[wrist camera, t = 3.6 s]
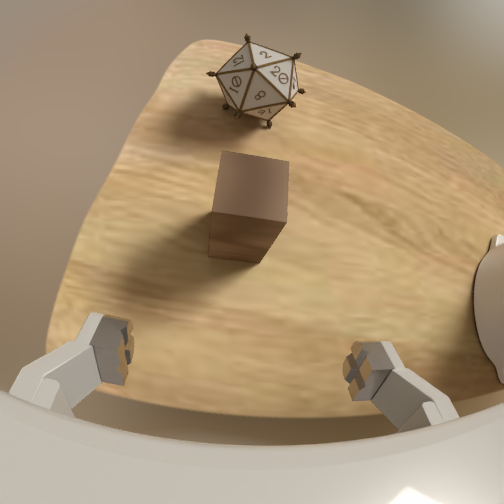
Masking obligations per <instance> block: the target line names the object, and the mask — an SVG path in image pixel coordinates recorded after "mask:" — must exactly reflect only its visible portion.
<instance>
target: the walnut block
mask: <svg viewBox="0 0 504 504" xmlns="http://www.w3.org/2000/svg"><path fill="white" fill-rule="evenodd" d="M288 180H289V162H288V161H283V160H277V159H272V158H266V157H260V156H254V155H248V154H242V153H235V152H228V151H222V154H221V159H220V165H219V171H218V176H217V182H216V188H215V194H214V201H213V207H212V214H211V226H210V237H209V250H208V257H216V258H223V259H231V260H238V261H246V262H253V263H260V262H261V260H262V259H263V257H264V256H265V254H266V253H267V251H268V250H269V248H270V247H271V245H272V244H273V242H274V241H275V239H276V238H277V236H278V235H279V233H280V232H281V230H282V229H283V227H284V226H285V224H286V223H287V206H288Z"/></svg>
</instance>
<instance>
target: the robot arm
mask: <svg viewBox="0 0 504 504" xmlns="http://www.w3.org/2000/svg"><path fill="white" fill-rule="evenodd" d="M474 310H475V319H476V326H477V330H478V335H479V338H480V341H481V344H482V346H483V349H484V351H485V353H486V354H487V356H488V357H489V359H490V360H491V361H492V362H493V363H494V365H495V367H496V370H497V373H498V377H499V380H500V382H501V383H502V384H503V383H504V236H503V235H501V234H498V235H495V236H493V238H492V241H491V245H490V250H489V252H488V253H487V254H486V256H485V257H484V258H483V259H482V261H481V263H480V265H479V268H478V271H477V275H476V280H475V288H474ZM132 330H133V325H132V321H131V320H130V319H125V318H120V317H115V316H111V315H106V314H105V315H104V314H100V313H96V312H91V313H90V314H89V316H88V317H87V319H86V321H85V323H84V325H83V327H82V328H81V330H80V332H79V334H78V336H77V338H76V340H75V341H69V342H68V343H66V344H64V345H62V346H60V347H59V348H57V349H55V350H53V351H52V352H50V353H48V354H46V355H44V356H43V357H41V358H39V359H37V360H36V361H34V362H32V363H30V364H28V365H27V366H25V367H23V368H22V369H21V371H20V373H19V375H18V376H17V378H16V380H15V382H14V384H13V386H12V388H11V390H10V392H9V393H7V392H5V391H2V390H0V504H504V402H502V403H500V404H497V405H495V406H492V407H489V408H487V409H484V410H481V411H478V412H475V413H473V414H469V415H466V416H463V417H459V415H458V414H457V412H456V410H455V408H454V406H453V404H452V402H451V401H450V399H449V397H448V396H446V395H445V394H444V393H442V392H441V391H439V390H438V389H437V388H435V387H434V386H432V385H431V384H430V383H428V382H427V381H425V380H424V379H423V378H421V377H420V376H418V375H417V374H416V373H414V372H413V371H411V370H410V369H406V368H405V367H404V365H403V363H402V361H401V359H400V358H399V356H398V354H397V352H396V350H395V349H394V347H393V345H392V343H391V342H389V341H356V342H355V343H353V345H352V347H351V351H352V353H351V354H350V355H348V356H347V357H346V359H345V361H344V363H343V376H344V379H345V380H346V381H347V382H348V383H350V385H349V387H348V390H349V393H350V396H351V398H352V401H366V400H371V402H372V403H373V404H374V405H375V406H376V407H377V408H378V409H379V410H380V411H381V412H382V413H383V414H384V415H385V416H386V417H387V418H388V419H389V420H390V421H391V422H392V423H393V424H394V425H395V426H396V427H397V428H398V429H399V431H398V432H397V433H396V434H391V435H386V436H380V437H374V438H367V439H361V440H353V441H345V442H335V443H324V444H310V445H291V446H290V445H288V446H248V445H226V444H211V443H201V442H191V441H183V440H175V439H168V438H162V437H155V436H149V435H144V434H139V433H133V432H129V431H124V430H120V429H115V428H111V427H107V426H103V425H99V424H95V423H91V422H88V421H84V420H81V419H77V418H75V417H74V415H73V413H72V411H71V409H72V408H73V407H74V406H75V405H77V404H78V403H79V402H80V401H81V400H82V399H83V398H84V397H86V396H87V395H88V394H89V393H90V392H92V391H93V390H94V389H95V388H96V387H97V386H99V385H100V384H101V383H102V382H106V383H111V384H116V385H122V386H124V384H125V381H126V378H127V375H128V366H127V365H128V364H130V363H131V361H132V358H133V352H134V337H133V336H132V335H131V332H132Z"/></svg>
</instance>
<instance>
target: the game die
mask: <svg viewBox="0 0 504 504" xmlns="http://www.w3.org/2000/svg"><path fill="white" fill-rule="evenodd" d="M245 40H246V42H247V43H246V44H245V45H244V46H243V47H242V48H241V49H239V50H238V51H237V52H236V53H235V54H234V55H233V56H232V57H231V58H230V59H229V60H228V61H227V62H226V63H225V64H224V65H223V66H222V67H221V69H220V70H219V71H218V72H217V73H215V72H212V71H210V72H208V73H206V74H208V75H209V76H212V77H213V76H216V78H217V80H218V83H219V85H220V87H221V90H222V92H223V95H224V97H225V99H226V102H227V104H225V105H223V109H227V108H228V107H229V106H230V107H232V108H233V109H235V110H236V111H238V112H236V114H235V115H234V116H235V119H238V118H240V116H241V113H242V114H245V115H249V116H253V117H256V118H259V119H263V120H266V121H267V123H266V124H267V126H268V127H269V128H270V129H271V126H272V122H271V121H270V120H271V119H272V118H273V117H274V116H275V115H276V114H277V113H279V112H280V111H281V110H282V109H283V108H284V107H285V106H286V105H288V104H289V106H291V108H292V107H296V103H294V102H293V101H291V100H292V99H293V98H294V96H295V95H296V94H297V92H299V93H301V94H303V93H306V92H305V91H304V89H298V81H297V74H296V67H295V59H298V58H300V55H301V53H296V54H294V56H293V57H291V56H289V55H286V54H284V53H281V52H278V51H276V50H273V49H270V48H267V47H264V46H261V45H258V44H256V43H252V42H250V36H249V35H247V34H246V35H245Z"/></svg>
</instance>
